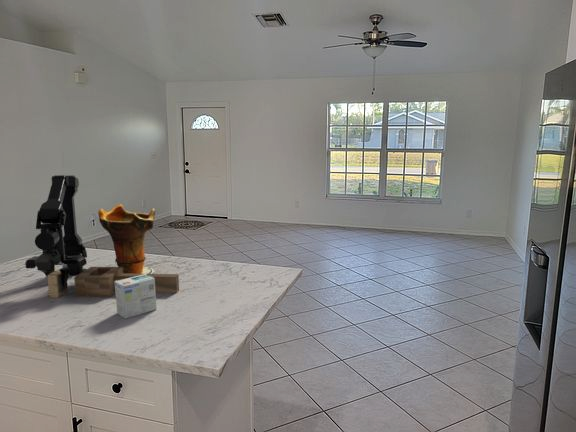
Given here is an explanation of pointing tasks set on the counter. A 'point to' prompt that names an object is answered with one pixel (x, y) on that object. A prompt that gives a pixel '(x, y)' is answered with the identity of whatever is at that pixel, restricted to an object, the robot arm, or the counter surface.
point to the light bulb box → (135, 295)
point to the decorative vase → (128, 237)
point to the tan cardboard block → (56, 284)
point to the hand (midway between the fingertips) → (58, 285)
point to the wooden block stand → (103, 278)
